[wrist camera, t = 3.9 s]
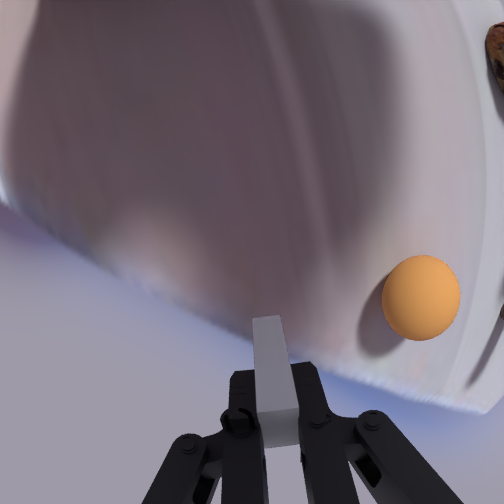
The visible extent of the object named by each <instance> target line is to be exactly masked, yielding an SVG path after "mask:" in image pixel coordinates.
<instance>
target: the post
mask: <svg viewBox="0 0 504 504" xmlns="http://www.w3.org/2000/svg"><path fill="white" fill-rule="evenodd" d="M500 316H501V318H502V319H503V320H504V305H503V307H502V309H501V313H500Z"/></svg>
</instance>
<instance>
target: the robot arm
mask: <svg viewBox="0 0 504 504" xmlns="http://www.w3.org/2000/svg"><path fill="white" fill-rule="evenodd" d="M252 325H253V345H254V366H255V369H254V370H245V371H244V370H243V371H235V372H234V373H233V375H232V376H231V378H230V389H229V408H228V409H227V410H225V411H224V412H223V414H222V415H221V418H220V421H221V424H222V427H223V429H222V430H221V431H220V432H218V433H216V434H214V435H210V436H206V437H203V438H202V437H201V436H199V435H196V434H189V433H188V434H185V435H181V436H180V437H178V438H177V439H176V440H175V441H174V442H173V444H172V446H171V448H170V450H169V452H168V454H167V456H166V458H165V460H164V462H163V464H162V466H161V468H160V469H159V471H158V473H157V475H156V477H155V479H154V481H153V483H152V485H151V487H150V489H149V490H148V492H147V494H146V496H145V498H144V500H143V502H142V504H210V503H211V501H212V498H213V495H214V492H215V490H216V487H217V485H218V482H219V479H220V477H222V494H221V504H269V499H268V485H267V472H266V459H265V455H264V448H272V447H281V446H288V445H296V444H299V443H300V449H301V462H302V466H303V473H304V478H305V485H306V491H307V498H308V504H360V503H359V500H358V496H357V492H356V488H355V485H354V481H353V478H352V474H351V471H350V467H349V463H348V461H349V462H350V463H351V465H352V466H353V468H354V469H355V471H356V472H357V474H358V475H359V477H360V478H361V480H362V481H363V483H364V484H365V486H366V487H367V489H368V490H369V492H370V493H371V495H372V496H373V498H374V499H375V501H376V502H377V504H464V503H463V502H462V501H461V500H460V499H459V498H458V497H457V495H456V494H455V493H454V492H453V491H452V490H451V489H450V487H449V486H448V485H447V484H446V483H445V482H444V481H443V480H442V478H441V477H440V476H439V475H438V474H437V473H436V471H435V470H434V469H433V468H432V467H431V466H430V465H429V463H428V462H427V461H426V460H425V459H424V458H423V457H422V455H421V454H420V453H419V452H418V451H417V450H416V448H415V447H414V446H413V445H412V444H411V443H410V442H409V440H408V439H407V438H406V437H405V436H404V435H403V433H402V432H401V431H400V430H399V429H398V428H397V427H396V425H394V423H393V422H392V421H391V420H390V419H389V417H388V416H387V415H386V414H384V413H383V412H381V411H378V410H369V411H366V412H363V413H362V414H361V415H359V417H358V418H348V417H341V416H338V415H336V414H334V413H333V412H332V411H331V410H330V409H329V407H328V404H327V400H326V397H325V394H324V391H323V387H322V384H321V381H320V378H319V374H318V371H317V368H316V367H315V366H314V365H313V364H312V363H311V362H310V361H309V362H302V363H296V364H290V361H289V356H288V351H287V346H286V342H285V337H284V332H283V327H282V323H281V318H280V315H273V316H265V317H257V318H252Z"/></svg>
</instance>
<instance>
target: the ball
mask: <svg viewBox="0 0 504 504" xmlns="http://www.w3.org/2000/svg"><path fill="white" fill-rule="evenodd" d="M459 305H460V288H459V283H458V280H457V278H456V276H455V274H454V272H453V271H452V270H451V268H450V267H449V266H448V265H447V264H446V263H444V262H443V261H441V260H440V259H438V258H435V257H432V256H426V255H419V256H414V257H411V258H408V259H406V260H404V261H402V262H401V263H400V264H398V265H397V266H396V267H395V268H394V269H393V270H392V272H391V273H390V274H389V276H388V278H387V280H386V282H385V285H384V288H383V293H382V308H383V312H384V315H385V318H386V320H387V322H388V324H389V325H390V327H391V328H392V329H393V330H394V331H395V332H396V333H398V334H399V335H400V336H402V337H404V338H407V339H410V340H414V341H424V340H429V339H432V338H434V337H436V336H438V335H440V334H441V333H443V332H444V331H445V330H446V329H447V328H448V327H449V326H450V325H451V323H452V322H453V320H454V319H455V317H456V314H457V312H458V309H459Z"/></svg>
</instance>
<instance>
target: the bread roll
mask: <svg viewBox="0 0 504 504" xmlns="http://www.w3.org/2000/svg"><path fill="white" fill-rule="evenodd" d="M486 47H487V52H488V55H489V58H490V61H491V65H492V69H493V71H494V73H495V76H496V79H497V82H498V84H499V85H500V87H501V89H502V91H503V93H504V22H501V23H499V24H495V25H493V26H491V27H490V29H489V31H488V34H487V37H486Z"/></svg>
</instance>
